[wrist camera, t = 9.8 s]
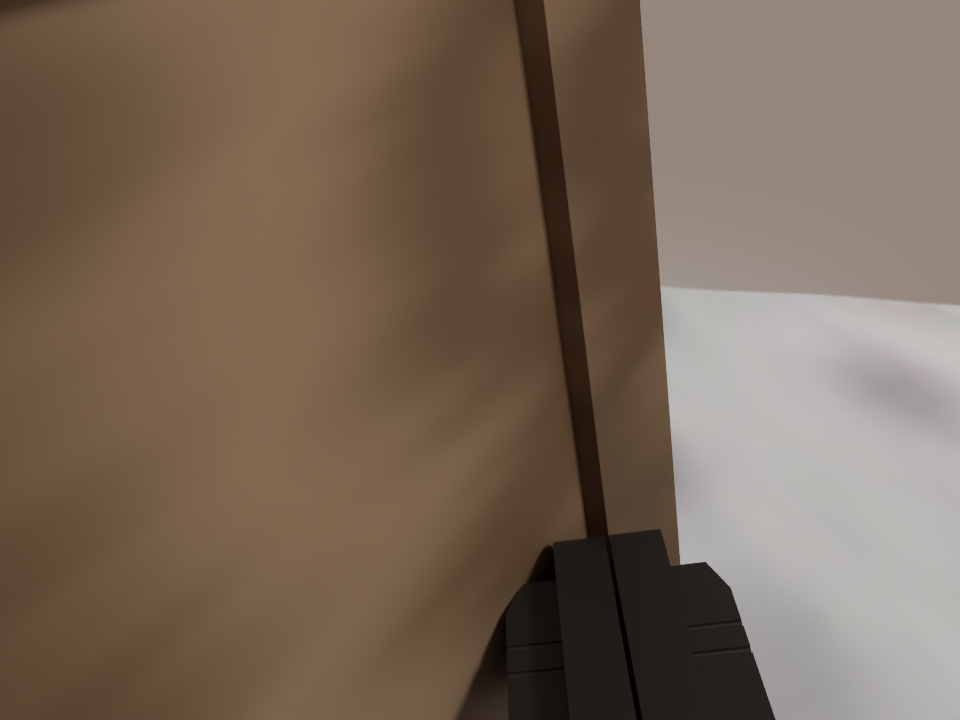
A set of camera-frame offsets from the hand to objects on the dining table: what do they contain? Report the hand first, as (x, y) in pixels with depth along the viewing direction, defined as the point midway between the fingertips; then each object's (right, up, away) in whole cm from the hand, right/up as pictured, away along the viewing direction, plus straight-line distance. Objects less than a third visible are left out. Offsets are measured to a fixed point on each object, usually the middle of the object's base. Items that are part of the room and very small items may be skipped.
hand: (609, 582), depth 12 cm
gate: (-5, -8, -1) cm, 9 cm away
